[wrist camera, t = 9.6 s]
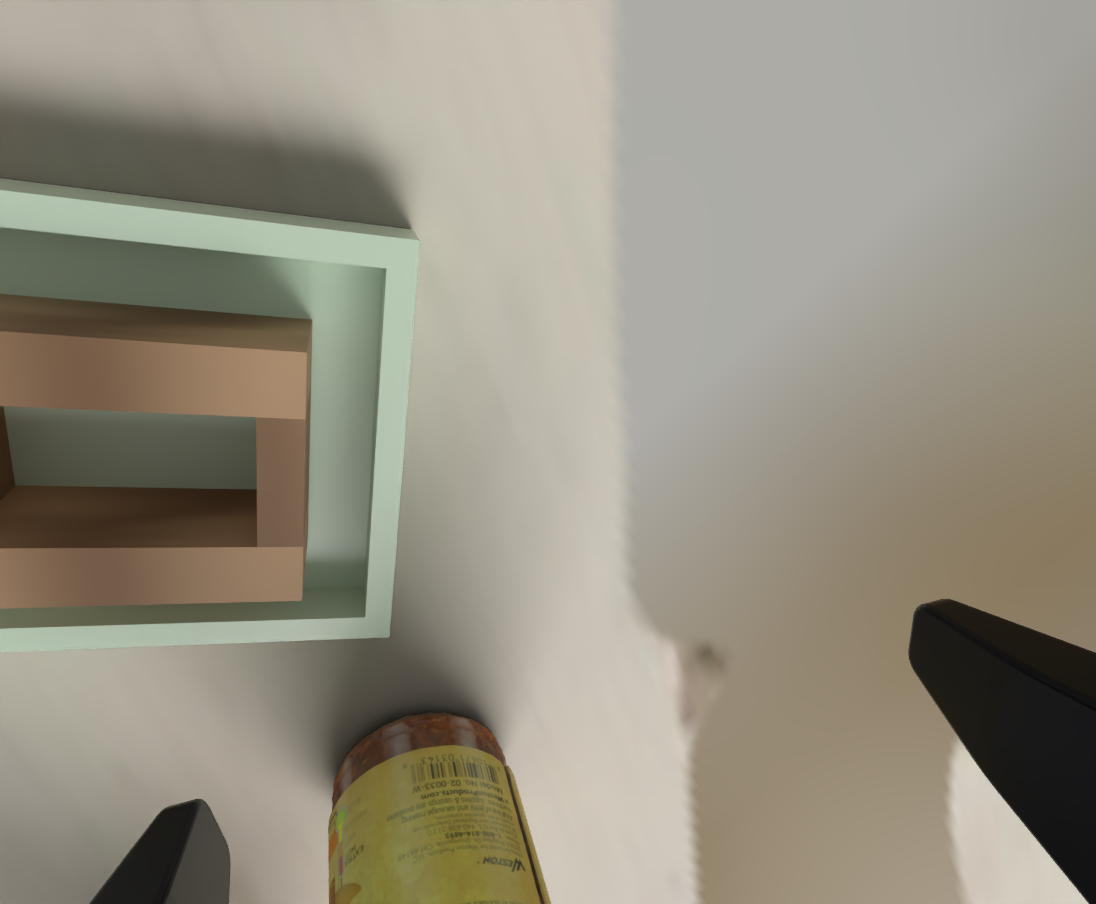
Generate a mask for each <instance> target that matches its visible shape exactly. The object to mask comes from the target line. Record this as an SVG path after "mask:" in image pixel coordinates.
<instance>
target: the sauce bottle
mask: <svg viewBox="0 0 1096 904" xmlns="http://www.w3.org/2000/svg"><path fill="white" fill-rule="evenodd" d="M332 803H333V806H332V813H331V815H330V820H329V828H328V834H329V904H551V902H550V898H549V895H548V891H547V888H546V884H545V881H544V878H543V874H542V871H541V867H540V864H539V860H538V857H537V853H536V850H535V847H534V843H533V840H532V836H531V833H530V829H529V826H528V823H527V819H526V816H525V812H524V809H523V805H522V802H521V798H520V795H519V791H518V788H517V784H516V781H515V778H514V775H513V773H512V771H511V769H510V767H509V766H506V761H505V757H504V755H503V752H502V749H501V748H500V746H499V744H498V742H497V740H496V738H495V737H494V736H493V734H492V733H491V731H490V730H489V729H488V728H486V727H485V726H483V725H482V724H480V723H478V722H476V721H474V720H472V719H471V718H465V717H464V716H454V715H451V714H449V713H443V712H437V713H424V714H418V715H407V716H404V717H402V718H400V719H398V720H396V721H393V722H391V723H389V724H384V725H383V726H382V727H381V728H379V729H377V730H376V731H375V732H373V733H371V734H370V735H368V736H366V737H365V738H364V739H363V740H362V741H361V742H359V743H358V744H357V745H356V746H355V747H354V748H353V749H352V750H351V751H350V752H349V753H348V754H347V756H346V757H345V759H344V761H343V763H342V764H341V767H340V770H339V772H338V774H337V776H336V778H335V782H334V789H333V797H332Z"/></svg>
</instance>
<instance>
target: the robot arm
mask: <svg viewBox="0 0 1096 904" xmlns="http://www.w3.org/2000/svg"><path fill="white" fill-rule="evenodd" d="M908 654H909V660H910V663H911V666H912V668H913V670H914V672H915V673H916V675H917V676H918V678H919V679H920V681H921V682H922V684H923V685H924V687H925V688H926V690H927V691H928V693H929V694H930V696H931V697H932V698H933V700H934V702H935V703H936V704H937V706H938V708H939V709H940V711H941V712H942V714H943V715H944V716H945V718H946V719H947V721H948V722H949V724H950V725H951V727H952V728H953V730H954V731H955V733H956V734H957V736H958V737H959V739H960V740H961V742H962V743H963V745H964V746H965V748H966V749H967V751H968V752H969V754H970V755H971V757H972V758H973V759H974V761H975V762H976V764H977V765H978V766H979V768H980V769H981V771H982V772H983V773H984V775H985V776H986V777H987V779H988V780H989V781H990V782H991V784H992V785H993V786H994V788H995V789H996V790H997V791H998V793H999V794H1000V795H1001V796H1002V798H1003V799H1004V800H1005V801H1006V803H1007V804H1008V805H1009V806H1010V807H1011V809H1012V810H1013V811H1014V812H1015V814H1016V815H1017V816H1018V817H1019V818H1020V820H1021V821H1022V822H1023V823H1024V825H1025V826H1026V827H1027V828H1028V830H1029V831H1030V832H1031V833H1032V834H1033V836H1034V837H1035V838H1036V839H1037V841H1038V842H1039V843H1040V844H1041V846H1042V847H1043V848H1044V849H1045V850H1046V852H1047V853H1048V854H1049V855H1050V857H1051V858H1052V859H1053V860H1054V861H1055V863H1056V864H1057V865H1058V866H1059V868H1060V869H1061V870H1062V871H1063V873H1064V874H1065V875H1066V876H1067V877H1068V879H1069V880H1070V881H1071V882H1072V884H1073V885H1074V886H1075V887H1076V888H1077V890H1078V891H1079V892H1080V893H1081V895H1082V896H1083V897H1084V898H1085V900H1086V901H1087V902H1088V903H1089V904H1096V653H1095V652H1092V651H1089V650H1087V649H1084V648H1081V647H1079V646H1076V645H1073V644H1070V643H1068V642H1065V641H1063V640H1060V639H1057V638H1054V637H1051V636H1049V635H1046V634H1044V633H1041V632H1038V631H1036V630H1033V629H1030V628H1027V627H1025V626H1022V625H1019V624H1016V623H1014V622H1011V621H1008V620H1005V619H1003V618H1000V617H998V616H995V615H992V614H990V613H987V612H984V611H981V610H979V609H976V608H973V607H971V606H968V605H965V604H962V603H960V602H957V601H954V600H951V599H940V600H937V601H933V602H929V603H925V604H921V605H920V606H918V607H917V608H916V610H915V611H914V615H913V622H912V629H911V636H910V643H909V651H908ZM229 885H230V854H229V849H228V845H227V843H226V840H225V838H224V836H223V834H222V832H221V830H220V828H219V826H218V824H217V822H216V820H215V818H214V816H213V814H212V811H211V809H210V807H209V806H208V804H207V803H206V802H205V801H204V800H202V799H195V800H191V801H187V802H183V803H180V804H176V805H172V806H169V807H167V808H165V809H163V810H162V811H161V812H160V813H159V814H158V815H157V816H156V818H155V819H154V820H153V822H152V823H151V824H150V825H149V827H148V828H147V829H146V831H145V832H144V833H143V835H142V836H141V837H140V838H139V840H138V841H137V842H136V844H135V845H134V846H133V848H132V849H131V850H130V851H129V853H128V854H127V855H126V857H125V858H124V859H123V861H122V862H121V863H120V864H119V866H118V867H117V868H116V870H115V871H114V872H113V874H112V875H111V876H110V877H109V879H108V880H107V881H106V883H105V884H104V885H103V887H102V888H101V889H100V890H99V892H98V893H97V894H96V896H95V897H94V898H93V900H92V901H91V902H90V904H229Z"/></svg>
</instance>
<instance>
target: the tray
mask: <svg viewBox="0 0 1096 904" xmlns="http://www.w3.org/2000/svg"><path fill="white" fill-rule="evenodd" d="M419 249H420V240H419V238H418V237H417V235H416V234H415V233H414V231H413V230H412V229H404V228H396V227H388V226H380V225H372V224H364V223H356V222H348V221H340V220H332V219H324V218H316V217H308V216H300V215H292V214H284V213H276V212H268V211H260V210H252V209H244V208H236V207H228V206H219V205H211V204H203V203H195V202H187V201H179V200H171V199H163V198H155V197H147V196H139V195H131V194H123V193H115V192H107V191H99V190H91V189H83V188H75V187H67V186H59V185H51V184H43V183H35V182H27V181H19V180H11V179H3V178H0V294H8V295H21V296H33V297H45V298H57V299H69V300H81V301H93V302H105V303H117V304H129V305H141V306H154V307H166V308H178V309H190V310H202V311H214V312H226V313H238V314H250V315H262V316H274V317H287V318H299V319H311V320H312V362H311V408H310V455H309V502H308V541H307V552H306V563H305V574H304V585H303V596H302V601H274V602H235V603H196V604H157V605H118V606H78V607H39V608H0V653H1V652H27V651H52V650H78V649H103V648H129V647H154V646H180V645H205V644H231V643H256V642H282V641H308V640H333V639H359V638H384V637H390V625H391V612H392V599H393V586H394V573H395V560H396V547H397V534H398V521H399V508H400V495H401V482H402V469H403V456H404V443H405V431H406V418H407V405H408V392H409V379H410V366H411V353H412V340H413V327H414V314H415V301H416V288H417V275H418V262H419ZM3 407H4V413H5V420H6V427H7V434H8V440H9V447H10V454H11V461H12V467H13V474H14V481H15V485H23V486H82V487H142V488H201V489H257V462H256V417H239V416H216V415H194V414H171V413H148V412H126V411H103V410H80V409H58V408H35V407H12V406H3Z"/></svg>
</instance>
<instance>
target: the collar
mask: <svg viewBox="0 0 1096 904" xmlns="http://www.w3.org/2000/svg"><path fill="white" fill-rule="evenodd" d="M311 362H312V320H311V319H299V318H287V317H274V316H262V315H250V314H238V313H226V312H214V311H202V310H190V309H178V308H166V307H154V306H141V305H129V304H117V303H105V302H93V301H81V300H69V299H57V298H45V297H33V296H21V295H8V294H0V608H39V607H78V606H118V605H157V604H196V603H235V602H274V601H302V596H303V585H304V574H305V563H306V552H307V541H308V502H309V455H310V408H311ZM3 406H12V407H35V408H58V409H80V410H103V411H126V412H148V413H171V414H194V415H216V416H239V417H256V462H257V489H201V488H142V487H82V486H23V485H15V481H14V474H13V467H12V461H11V454H10V447H9V440H8V434H7V427H6V420H5V413H4V407H3Z"/></svg>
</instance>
